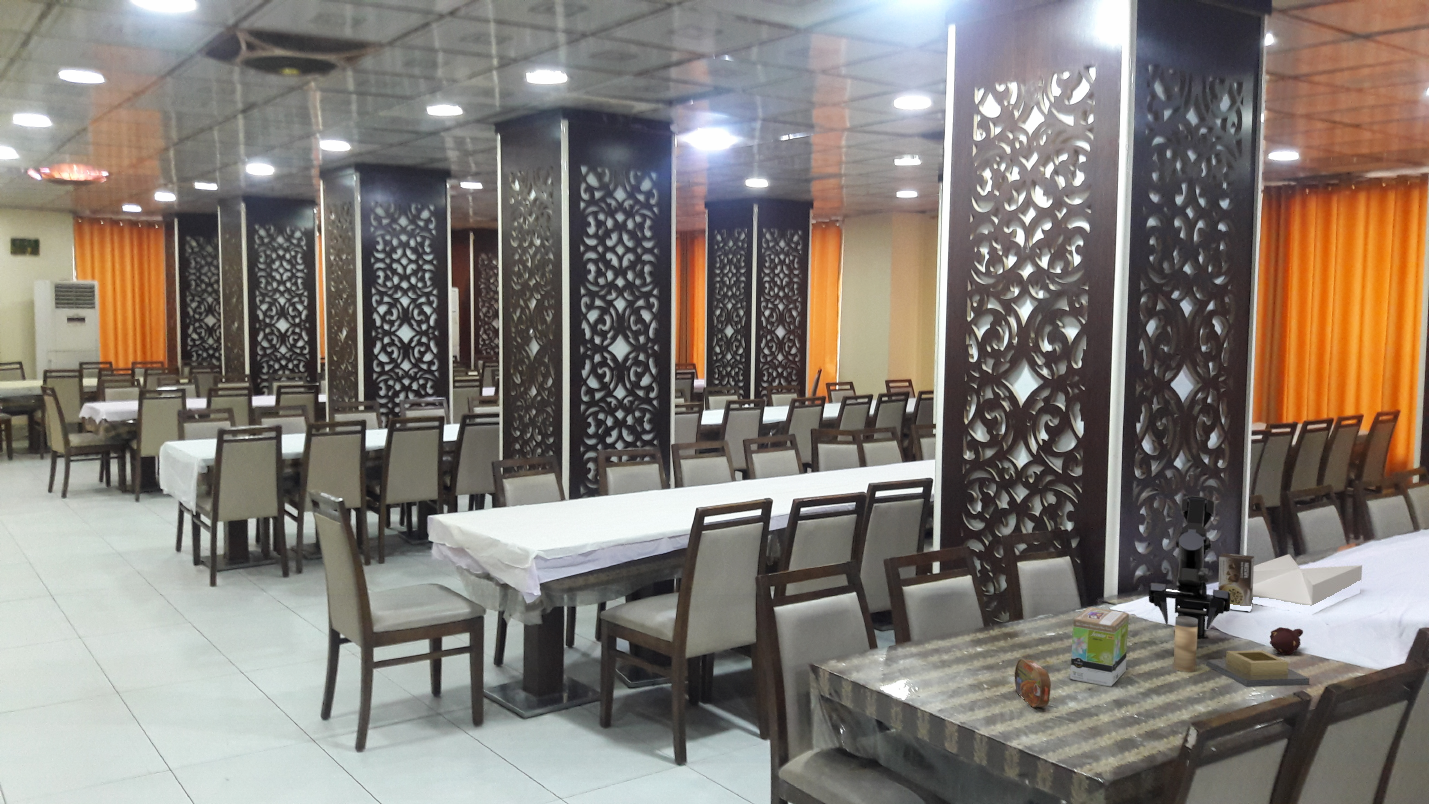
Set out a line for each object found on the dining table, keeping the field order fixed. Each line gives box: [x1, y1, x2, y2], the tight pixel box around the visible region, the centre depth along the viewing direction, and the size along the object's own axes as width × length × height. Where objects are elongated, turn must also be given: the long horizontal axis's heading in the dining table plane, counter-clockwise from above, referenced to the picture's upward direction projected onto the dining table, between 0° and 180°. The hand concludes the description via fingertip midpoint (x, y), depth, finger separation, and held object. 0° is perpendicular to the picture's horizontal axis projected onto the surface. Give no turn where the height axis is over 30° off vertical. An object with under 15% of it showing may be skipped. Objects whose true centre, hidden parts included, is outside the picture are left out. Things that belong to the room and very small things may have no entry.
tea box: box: [1069, 606, 1130, 687], centre depth 259 cm, size 15×10×15 cm
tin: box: [1014, 658, 1052, 708], centre depth 240 cm, size 15×3×8 cm, turn 5°
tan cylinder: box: [1173, 615, 1198, 673], centre depth 266 cm, size 5×5×12 cm
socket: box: [1205, 649, 1310, 687], centre depth 262 cm, size 16×16×4 cm
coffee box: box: [1217, 552, 1255, 606], centre depth 327 cm, size 9×6×16 cm
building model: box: [1253, 553, 1363, 606], centre depth 344 cm, size 45×22×10 cm, turn 133°
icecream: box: [1269, 627, 1304, 656], centre depth 281 cm, size 7×7×15 cm
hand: (1186, 625), depth 268 cm, fingers open, 9 cm apart
